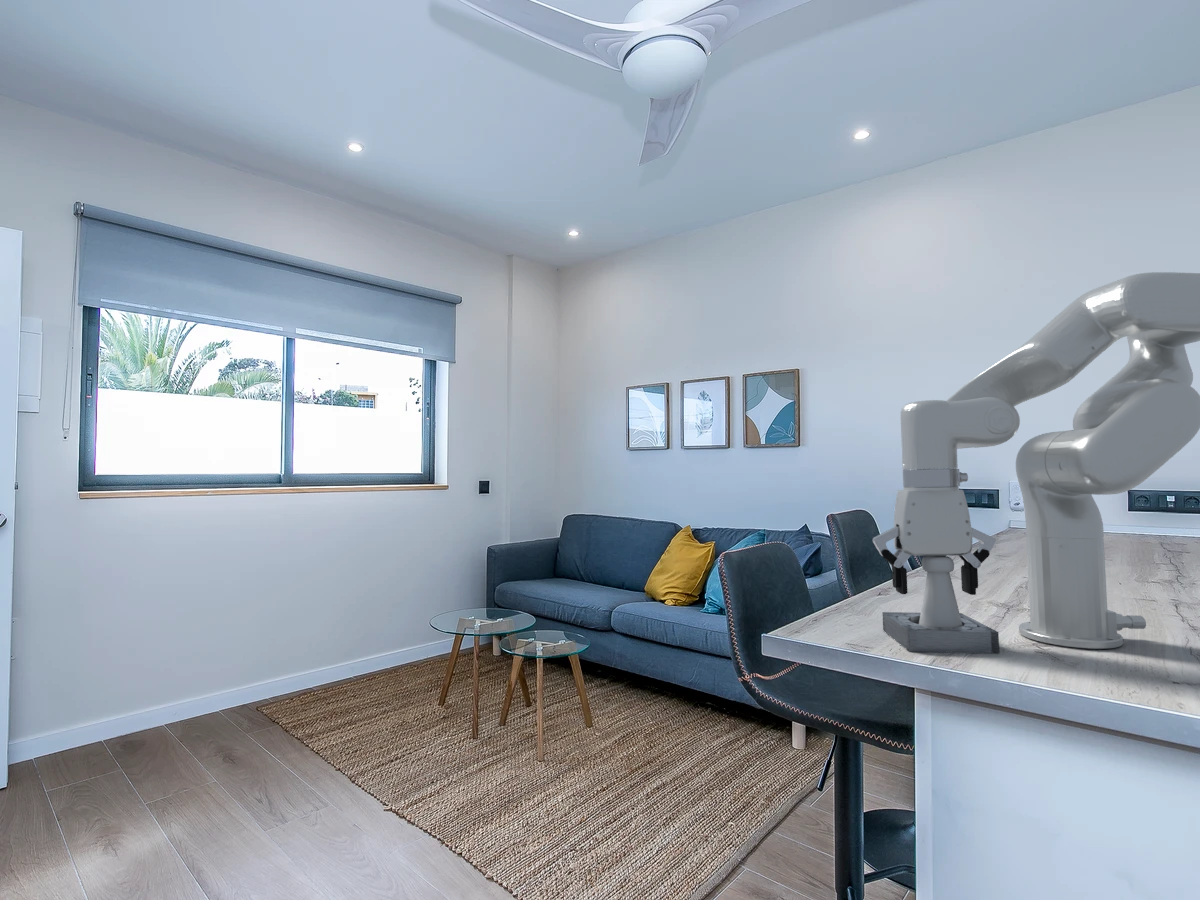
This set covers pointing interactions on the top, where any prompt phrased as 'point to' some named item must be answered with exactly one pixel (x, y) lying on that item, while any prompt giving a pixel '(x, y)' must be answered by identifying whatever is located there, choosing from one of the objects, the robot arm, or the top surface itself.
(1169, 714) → the top surface
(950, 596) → the salt shaker
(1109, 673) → the top surface
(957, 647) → the block
